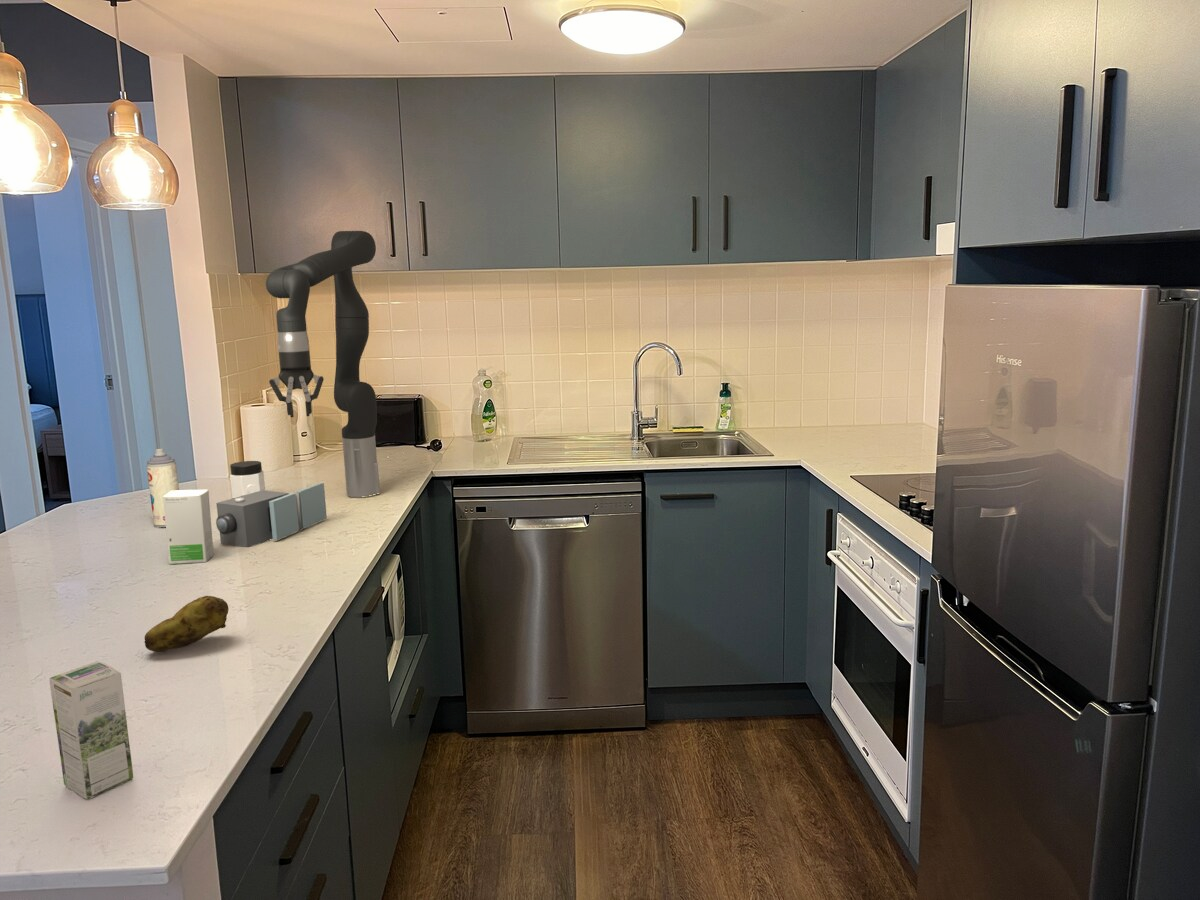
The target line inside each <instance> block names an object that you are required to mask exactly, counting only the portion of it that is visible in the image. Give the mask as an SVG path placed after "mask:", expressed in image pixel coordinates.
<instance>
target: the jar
mask: <svg viewBox="0 0 1200 900" xmlns="http://www.w3.org/2000/svg"><path fill="white" fill-rule="evenodd" d="M230 473H231V474H230V475H229V479H230V480H229V481H230V491H231V499H232V498H236V497H240V496H243V495H247V494H251V493H254V492H258V491H262V490H266V484H265V473H264V470H263V466H262V462H261V461H259V460H245V461H238V462H234V463H231V464H230Z"/></svg>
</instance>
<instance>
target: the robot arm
mask: <svg viewBox="0 0 1200 900" xmlns="http://www.w3.org/2000/svg"><path fill="white" fill-rule="evenodd" d="M330 243H331V245H330V249H329V250H324V251H320V252H318V253H313V254H311V255H309V256H308V257H305V258H304V259H301V260H300V261H298V262H295V263H293V264H288V265H284V266H281V267H279V268H276V269H274V270H272V271H271V272H270V273H269V274H268V276H267V277H266V280H265V287H266V290H267V293H268V294H269V295H270V296H272V297H273V298H276V299H288V303H287V305H286V306H285V307H283V308H279V309H277V311H276V327H277V351H278V359H279V360H278V361H279V362H278V363H279V369H280V370H279V373H278V376H275V377H274V378H270V379H269V381H268V382H269V385H270V387H271V389H272V390H273V392H274V394H275V396H276V397H277V399H278V401H279V402H284V403H285V404H286V411H287V416H290V418H294V416H295V415H294V406H293V405H294V403H293V401H292V398H293V397H292V396H293V390H297V389H298V390H302V392H303V395H304V398H305V412H306V413H305V414H306V417H310V414H311V415H312V412H313V407H312V401H313V400H316V399H318V398H319V394H320V391H321V390H322V386H323V382H324V379H325V378H324V377H323V375H317V374H314V372H313V370H312V364H311V363H312V361H311V353H310V352H311V351H310V343H309V342H310V341H309V336H308V331H307V328H308V327H307V319H306V314H307V309H308V302H309V297H310V291H311V288H312V287H315V286H317V285H318V284H320V283H322V282H324V281H325V280H327V279H329V278H331V277H333V278H334V279H333V281H334V297H335V298H334V299H335V301H334V304H335V308H334V309H335V310H334V314H335V315H334V317H335V318H334V321H335V324H334V326H335V329H334V330H335V359H336V360H335V374H334V375H335V376H334V386H333V401H334V403H335V405H336V407H337V409H339V410H340V411H342V412H345V413H347V424H346V425H344V426H342V429H341V439H342V449H343V464H344V465H343V466H344V477H345V486H346V487H345V491H346V496H347V497H349V496H350V497H349V498H363V497H362V496H369V495H373V494H377V493H380V494H381V490H380V487H381V486H380V478H379V477H380V475H379V463H378V458H377V445H376V444H377V443H376V427H377V424H378V418H377V417H378V413H377V412H378V410H377V408H378V406H377V396H376V392H375V390H374V388H373V386H372V385H371V384H370V383H368V382H365V381H361V380H360V364H361V360H362V356H363V353H364V350H365V348H366V346H367V343H368V340H369V335H370V333H369V332H370V323H369V322H370V319H369V318H370V317H369V316H370V314H369V310H368V307H367V304H366V302H365V301H364V299H363V298H362V296H361V294H360V293H359V291H358V288H357V287H356V284H355V283H354V277H353V268H354V267H357V266H360V265H365V264H368V263H370V262H371V261H372V260H373V259H374V258H375V255H376V252H377V251H376V250H377V245H376V240H375V239H374V236H372V234H370V233H369V232H367V231H363V230H339V231H336V232H335V233H334V234H333V235H332V238H331V242H330ZM313 379H314V383H315V384H316V386H315V388H314V391H313V394H310V391H309V387H308V386H309V384H310V383H311V381H312V380H313ZM280 381H281V382H282V384H283V385H284V386H286V389H287V390H286V396H284V395H283V394H282V391H281V390H280V387H279V386H280ZM369 497H370V496H369Z"/></svg>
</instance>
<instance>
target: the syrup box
mask: <svg viewBox="0 0 1200 900" xmlns="http://www.w3.org/2000/svg"><path fill="white" fill-rule="evenodd" d="M122 680H123V679H122V673H121V672H120V671H118V670H117V669H115V668H114V667H112V666H111V665H109V664H106V663H104V662H101V661H98V660H97V661H94V662H90V663H88V664H86V665H82V666H78V667H76V668H75V669H70V670H68V671H65V672H63V673H62V672H61V673H60V674H57V675H54V676H52V677H51V676H50V677H49V686H50V687H49V688H50V695H51V701H52V708H53V714H54V715H53V716H54V721H55V729H56V735H57V744H58V749H59V757H60V763H61V764H60V765H61V770H62V771H61V772H62V777H63V785H64V786H65V787H66V788H68V789H69V790H71V791H72V792H74V793H75V794H77V795H79V796H80V797H82V798H84V799H85V800H90V799H92V798H94V797H97V796H98V795H100V794H103V793H105V792H107V791H109V790H111V789H114V788H116V787H119V786H120V785H122V784H125V783H126V782H128V781H130V780H132V779H133V778H134V771H133V762H132V754H131V753H132V752H131V748H130V746H131V745H130V737H129V729H128V721H127V713H126V704H125V697H124V696H125V695H124V688H123V681H122Z"/></svg>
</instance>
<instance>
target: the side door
mask: <svg viewBox="0 0 1200 900" xmlns="http://www.w3.org/2000/svg"><path fill="white" fill-rule="evenodd" d="M325 491H326V490H325V483H324V482H317V483H315V484H313V485H310V486H307V487H305V488H302V489H299V490H296V491H293V492H291V493H289V494H288V495H285V496H282V497H280V498H277V499H274V500H272V501H269V506H270V516H271V526H272V536H273V539H272V541H278V540H281V539H283V538H286V537H287V536H290V535H292V534H295V533H297V532H302V531H303V529H304V530H305V529H306V528H308V527H311V526H313V525H315V524H318V523H320V522H322V521H324V520H326V519H327V518H328V515H327V505H326V495H325V494H326V492H325Z"/></svg>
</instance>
